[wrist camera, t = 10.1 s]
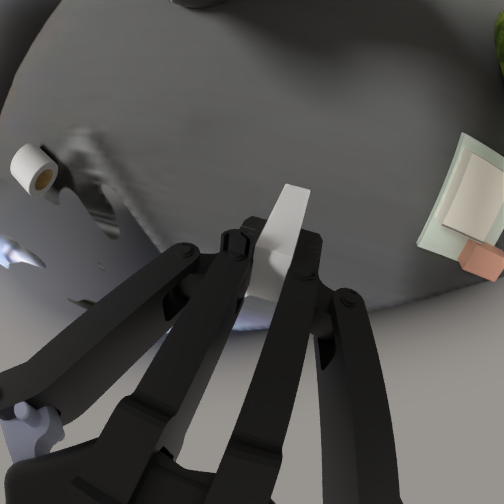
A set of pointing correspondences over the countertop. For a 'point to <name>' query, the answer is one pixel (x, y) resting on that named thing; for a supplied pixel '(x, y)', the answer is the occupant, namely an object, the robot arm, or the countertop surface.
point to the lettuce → (500, 39)
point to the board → (433, 233)
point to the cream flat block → (472, 197)
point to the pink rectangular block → (482, 259)
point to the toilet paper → (34, 169)
